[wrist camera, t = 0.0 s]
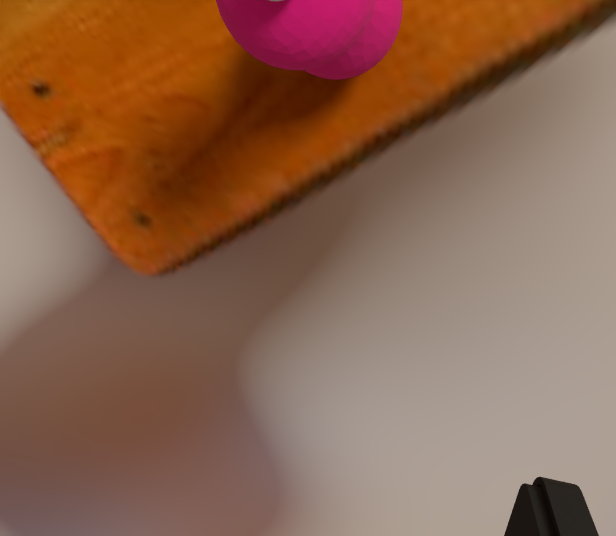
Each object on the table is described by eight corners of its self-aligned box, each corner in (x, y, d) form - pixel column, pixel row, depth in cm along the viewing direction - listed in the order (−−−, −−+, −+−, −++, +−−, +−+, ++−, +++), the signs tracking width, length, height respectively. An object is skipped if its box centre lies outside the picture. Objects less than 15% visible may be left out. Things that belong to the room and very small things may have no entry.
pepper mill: (266, 16, 36) (110, -33, 18) (348, -77, 34) (267, -248, 15) (342, 102, 37) (269, 139, 19) (428, 17, 35) (442, -36, 16)
